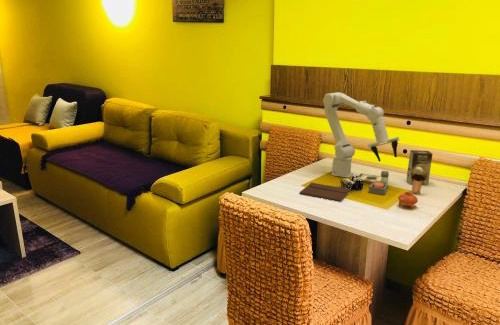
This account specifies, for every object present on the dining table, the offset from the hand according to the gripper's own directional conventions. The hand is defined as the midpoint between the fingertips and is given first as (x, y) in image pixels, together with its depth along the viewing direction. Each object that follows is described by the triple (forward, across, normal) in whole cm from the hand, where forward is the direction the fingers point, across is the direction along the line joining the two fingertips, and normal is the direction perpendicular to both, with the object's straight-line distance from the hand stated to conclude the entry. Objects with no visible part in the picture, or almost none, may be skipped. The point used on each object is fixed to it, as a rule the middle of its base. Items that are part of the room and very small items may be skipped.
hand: (387, 159), depth 196 cm
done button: (+12, -8, -5) cm, 16 cm away
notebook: (+8, -33, -11) cm, 35 cm away
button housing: (+13, -9, -5) cm, 17 cm away
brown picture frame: (+9, -9, +12) cm, 17 cm away
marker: (+13, -5, +1) cm, 14 cm away
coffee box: (+16, +12, +12) cm, 23 cm away
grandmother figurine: (+19, +8, -4) cm, 21 cm away
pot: (+20, 0, -21) cm, 29 cm away
